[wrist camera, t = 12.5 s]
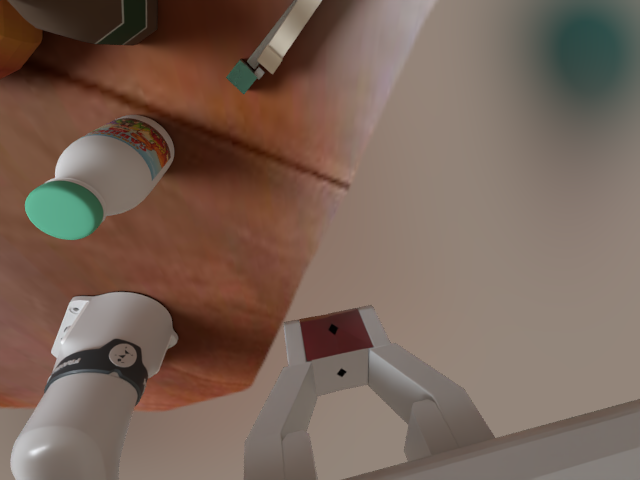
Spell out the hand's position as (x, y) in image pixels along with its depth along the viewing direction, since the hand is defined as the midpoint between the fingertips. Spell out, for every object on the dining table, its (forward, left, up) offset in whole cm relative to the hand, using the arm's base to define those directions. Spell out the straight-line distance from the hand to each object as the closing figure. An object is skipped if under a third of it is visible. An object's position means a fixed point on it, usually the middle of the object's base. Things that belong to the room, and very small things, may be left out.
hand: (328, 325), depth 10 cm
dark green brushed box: (+1, +6, -36) cm, 37 cm away
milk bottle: (-14, +10, -36) cm, 40 cm away
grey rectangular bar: (+10, +5, -36) cm, 37 cm away
